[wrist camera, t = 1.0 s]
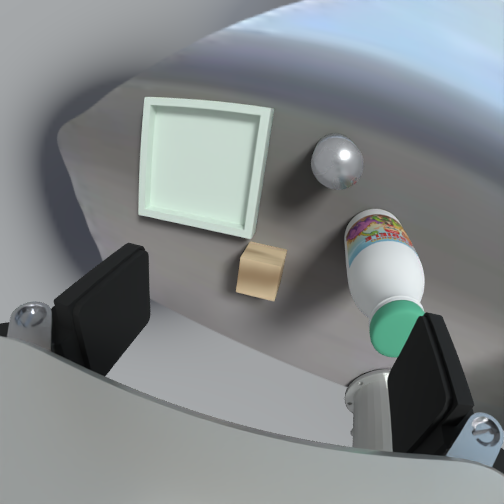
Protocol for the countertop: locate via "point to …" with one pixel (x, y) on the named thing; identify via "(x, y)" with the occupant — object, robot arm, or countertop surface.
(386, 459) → the robot arm
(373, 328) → the milk bottle
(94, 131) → the countertop surface
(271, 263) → the oak block
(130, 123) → the countertop surface
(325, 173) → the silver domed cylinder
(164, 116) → the sage tray
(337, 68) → the countertop surface
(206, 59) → the countertop surface
